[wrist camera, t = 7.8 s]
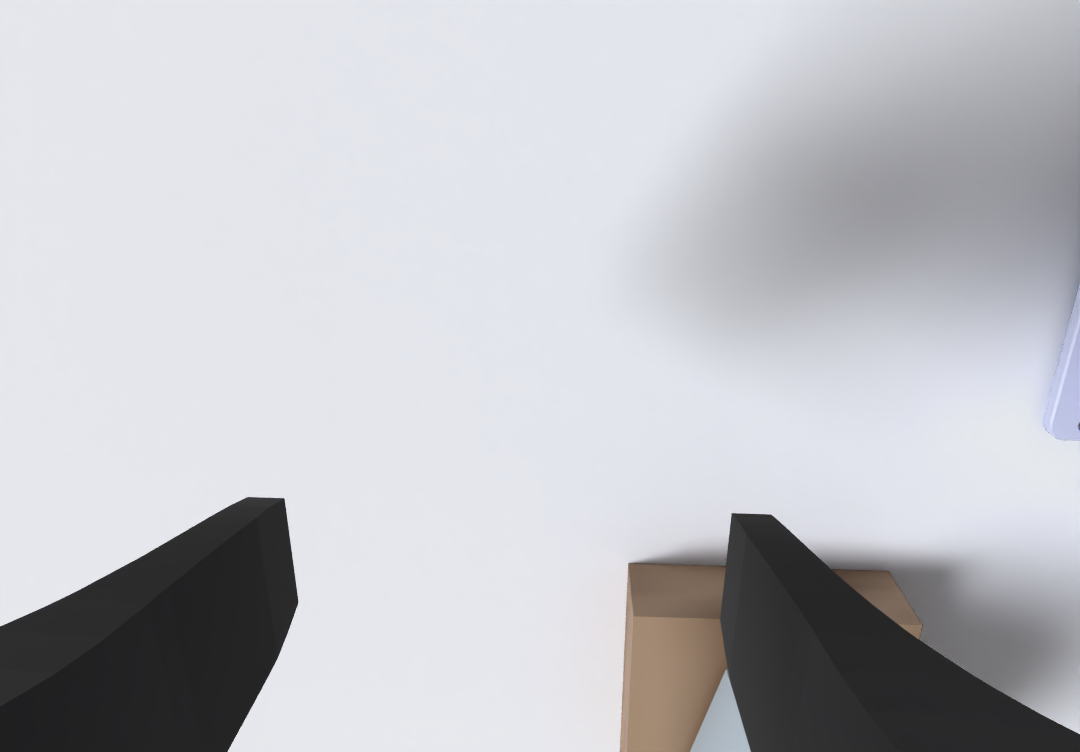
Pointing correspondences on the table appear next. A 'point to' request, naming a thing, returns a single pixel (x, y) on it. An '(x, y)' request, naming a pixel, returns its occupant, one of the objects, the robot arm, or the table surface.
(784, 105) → the table surface
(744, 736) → the grey block
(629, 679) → the walnut base
